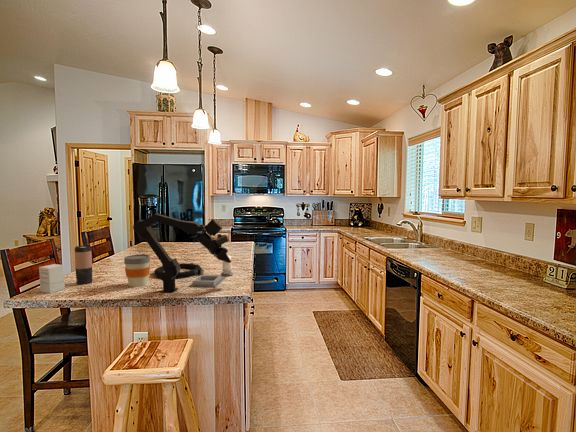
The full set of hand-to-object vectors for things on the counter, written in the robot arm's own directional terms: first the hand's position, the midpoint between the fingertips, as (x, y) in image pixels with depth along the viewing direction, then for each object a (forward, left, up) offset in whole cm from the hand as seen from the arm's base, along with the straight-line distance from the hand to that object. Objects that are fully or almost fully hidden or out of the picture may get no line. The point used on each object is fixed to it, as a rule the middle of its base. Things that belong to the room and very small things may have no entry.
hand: (229, 261), depth 163 cm
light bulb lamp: (-1, +1, -7) cm, 7 cm away
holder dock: (+9, +14, -13) cm, 21 cm away
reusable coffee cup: (-1, +50, -14) cm, 52 cm away
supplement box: (-16, +86, -14) cm, 89 cm away
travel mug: (-2, +80, -14) cm, 81 cm away
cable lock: (+24, +38, -14) cm, 47 cm away
